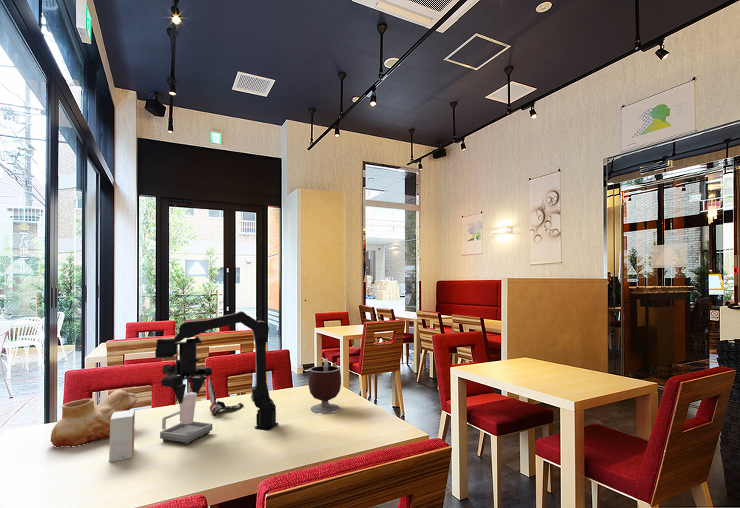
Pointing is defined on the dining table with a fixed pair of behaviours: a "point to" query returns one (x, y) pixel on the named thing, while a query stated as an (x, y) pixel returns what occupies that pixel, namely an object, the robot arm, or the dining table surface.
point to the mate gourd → (324, 386)
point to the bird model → (218, 406)
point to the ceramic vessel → (89, 419)
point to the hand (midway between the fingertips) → (187, 400)
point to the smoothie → (188, 406)
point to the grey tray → (184, 430)
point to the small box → (121, 435)
